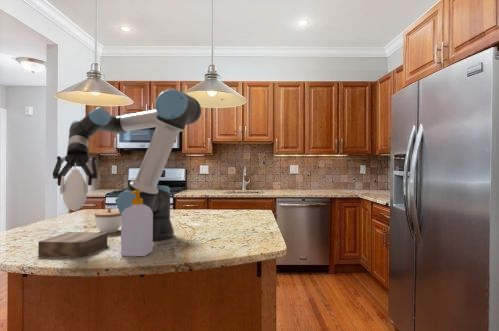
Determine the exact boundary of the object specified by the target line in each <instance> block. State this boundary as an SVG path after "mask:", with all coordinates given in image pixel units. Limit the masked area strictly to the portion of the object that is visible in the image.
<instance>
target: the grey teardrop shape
mask: <svg viewBox="0 0 499 331" xmlns="http://www.w3.org/2000/svg"><path fill="white" fill-rule="evenodd" d="M70 170H71V171H70V173H68V175H67V177H66V180H65V181H64V188H63V194H62V200H63V203H64V206H66V208H69V210H70V211H73V212H75V211H77V212H78V210H80V209H81V208H82V207H84V205H85V203H86V200H87V198H88V197H87V196H88V193H86V179H85V178H84V177H83V175H82V173H81V172H80V169H77V166H76V163H75V167H74V169H70Z"/></svg>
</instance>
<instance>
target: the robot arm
mask: <svg viewBox="0 0 499 331" xmlns="http://www.w3.org/2000/svg"><path fill="white" fill-rule="evenodd" d="M154 104H155V105H154V108H155V109H151V110H145V111H140V112H135V113H129V114H128V113H127V114H123V115H118V116H114V115H111V114H110V112H109V111H108V110H107V109H104V107H101V106H98V107H95V108H94V109H93V110H91V111H90V112H88V114H87V115H85V116H84V117H83V118H82V119H78V120H74V121H72V122H71V124H70V127H69V129H68V131H69V132H68V141H67V149H66V155H65V156H64V157H61V156H60V155H57V156H56V160H57V161H56V164H55V166H54V169H53V171H52V178H53V179H54V180H57V181H56V182H57V187H59V192H60V193H59V194H60V195H63V188H64V184H65V181H66V180H65V177H66V175H67V174H68V172H69V171H70V170H72V168H73V167H74V168H75V163H76V167H79V168H80V167H81V169H82V170H83V172H84V174H85V175H86V177H85V183H86V193H87V194H89V186H92V185H93V179H94V180H95V179H98V170H97V165H96V164H97V157H95V156H93V157H89V143H90V138H91V137H93V136H94V135H95V134H97V132H99V131H101V132H107V133H113V134H116V135H119V134H120V135H126V133H128V132H131V131H137V130H144V129H151V128H155V130H154V132H153V134H152V136H151V140H150V141H149V144H148V147H147V149H146V152H145V155H144V158H143V160H142V161H141V162H142V163H141V165H140V167H139V170H138V172H137V175H136V178H135V179H133V180H131V181H130V182H129V184H128V185H127V189H125V190H124V191H122V192H120V194H118V196H117V199H116V208H117V209H118V211H119V213H120V214H121V215H122V212H123V211H124V210H125V209H126V208H128V207H130V206H132V199H133V198H136V193H134V194H131V193H132V191H135V190H140V191H142V193H140V198H143V205H146V206H148V207H150V209H151V210H152V213H153V241H162V240H168V239H172V238H173V237H175V233H174V232H175V231H174V227H173V224H172V221H171V196H172V195H171V188H170V187H169V186H168V185H158V184H159V181H160V179H161V177H162V174H163V172H164V168H165V166H166V164H167V162H168V160H169V157H170V155H171V152H172V149H173V147H174V145H175V142H176V140H177V138H178V135H179V133H180V132H183V131H184V130H185V128H186V126H188V125H193V124H195V123H196V122H198V120H200V118H201V115H202V106H201V104H200V103H199V101H198V100H197V99H196V98H195V97H193V96H190V95H188V93H184V92H183V91H181V90H178V89H173V88H169V89H166V90H163V91H161V93H159V95H158V96H157V98H156V100H155V102H154ZM64 162H66V164H65V165H64V166H63V168H62V164H63V163H64ZM88 162H89V163H90V164H91V169H92V170H90V168H89V166H88V165H87V163H88ZM61 168H62V169H61Z"/></svg>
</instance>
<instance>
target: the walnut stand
mask: <svg viewBox="0 0 499 331" xmlns="http://www.w3.org/2000/svg"><path fill="white" fill-rule="evenodd" d="M106 246H108V233H102V232H93V231H80V232H79V231H67V232H64V233H61V234H58V235H56V236H51V237H48V238H46V239H42V240H39V241H38V249H37V250H38V254H37V255H38V257H59V256H70V257H69V258H83V256H84V257H86V256H88V255H89V254H92V253H94V252H96V251H98V250H100V249H102V248H104V247H106Z"/></svg>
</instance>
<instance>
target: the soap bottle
mask: <svg viewBox="0 0 499 331" xmlns="http://www.w3.org/2000/svg"><path fill="white" fill-rule="evenodd" d="M134 193H136V198H133V199H132V206H130V207H128V208H126V209H125V210H124V211H123V212H122V215H121V227H120V255H121V256H122V257H136V256H144V257H146V256H147V255H149V254H150V253H152V252H153V250H154V249H153V247H154V246H153V245H154V244H153V241H154V240H153V213H152V210H151V209H150V207H148V206H146V205H143V198H140V193H142V191H140V190H135V191H132V193H131V194H134Z"/></svg>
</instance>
